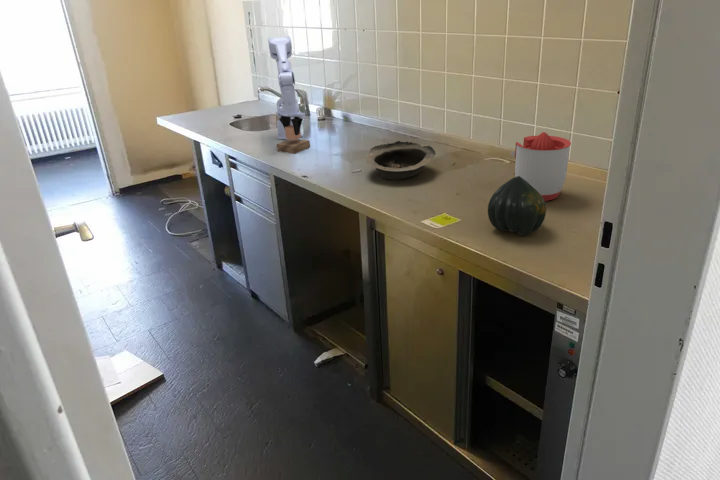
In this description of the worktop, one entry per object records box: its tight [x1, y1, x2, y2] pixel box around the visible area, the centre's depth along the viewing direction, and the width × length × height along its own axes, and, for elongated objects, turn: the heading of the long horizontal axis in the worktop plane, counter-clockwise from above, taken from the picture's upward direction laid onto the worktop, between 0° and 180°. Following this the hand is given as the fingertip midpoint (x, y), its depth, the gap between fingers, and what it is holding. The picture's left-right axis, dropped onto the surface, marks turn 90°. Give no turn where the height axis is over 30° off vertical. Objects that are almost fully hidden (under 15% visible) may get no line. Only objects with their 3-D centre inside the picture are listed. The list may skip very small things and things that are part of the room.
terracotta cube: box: [285, 125, 302, 140], centre depth 231 cm, size 4×4×5 cm
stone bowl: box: [365, 140, 436, 181], centre depth 193 cm, size 25×25×9 cm
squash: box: [487, 176, 547, 236], centre depth 145 cm, size 14×15×15 cm
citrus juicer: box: [510, 131, 572, 202], centre depth 165 cm, size 16×17×20 cm
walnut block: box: [276, 138, 311, 155], centre depth 233 cm, size 10×10×4 cm
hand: (292, 134), depth 231 cm, fingers closed on terracotta cube, 4 cm apart
